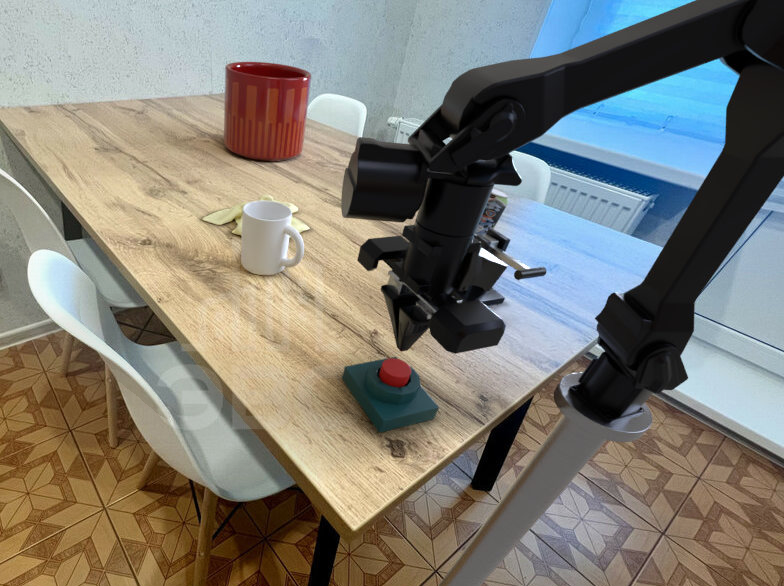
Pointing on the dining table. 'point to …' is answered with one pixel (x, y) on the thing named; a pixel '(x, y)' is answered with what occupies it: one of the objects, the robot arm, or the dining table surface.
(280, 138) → the planter
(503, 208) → the beverage can
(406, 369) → the button
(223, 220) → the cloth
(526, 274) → the lever
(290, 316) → the dining table surface
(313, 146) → the dining table surface
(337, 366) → the dining table surface
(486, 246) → the bracket
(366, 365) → the button block
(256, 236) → the mug
